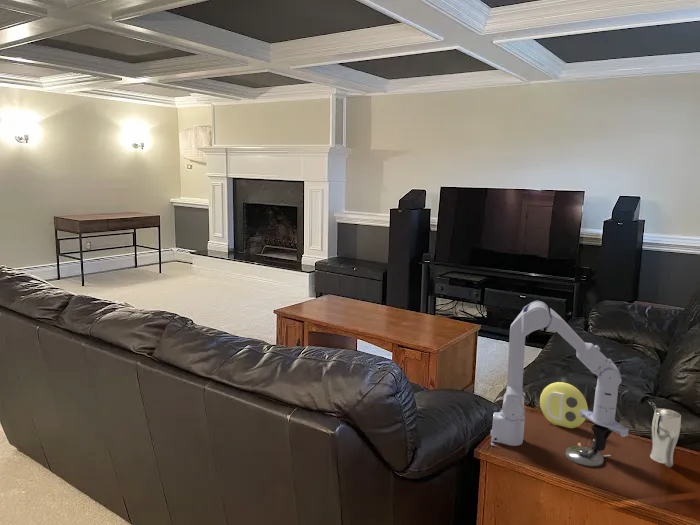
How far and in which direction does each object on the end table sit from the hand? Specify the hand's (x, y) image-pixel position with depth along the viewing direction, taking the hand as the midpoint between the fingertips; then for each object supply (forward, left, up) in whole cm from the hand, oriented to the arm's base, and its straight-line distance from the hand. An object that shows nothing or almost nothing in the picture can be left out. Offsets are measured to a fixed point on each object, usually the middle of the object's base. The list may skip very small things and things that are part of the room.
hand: (599, 449), depth 157 cm
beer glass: (+17, +5, -3) cm, 18 cm away
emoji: (-9, +18, -3) cm, 20 cm away
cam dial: (-5, -3, -2) cm, 6 cm away
